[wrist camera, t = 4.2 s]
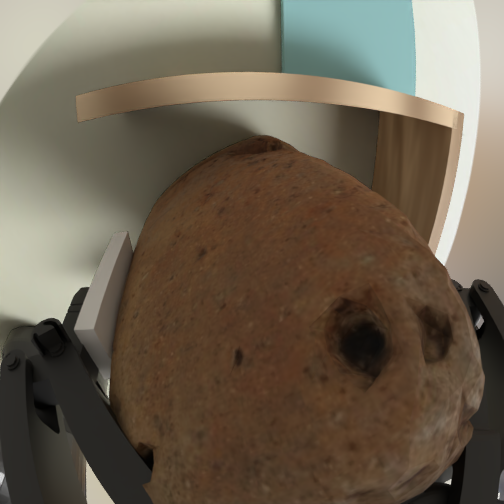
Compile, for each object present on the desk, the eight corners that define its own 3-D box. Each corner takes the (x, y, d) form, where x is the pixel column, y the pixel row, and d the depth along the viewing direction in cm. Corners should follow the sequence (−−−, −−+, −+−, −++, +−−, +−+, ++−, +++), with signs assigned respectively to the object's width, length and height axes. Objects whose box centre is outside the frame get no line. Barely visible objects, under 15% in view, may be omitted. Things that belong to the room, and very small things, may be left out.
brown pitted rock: (203, 267, 23) (248, 537, 6) (140, 204, 19) (70, 532, 2) (311, 190, 21) (509, 411, 5) (259, 111, 17) (615, 293, 1)
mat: (281, 74, 16) (284, 73, 16) (278, -53, 10) (280, -56, 9) (410, 95, 18) (415, 96, 18) (405, -14, 12) (409, -16, 11)
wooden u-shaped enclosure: (154, 292, 23) (147, 365, 17) (121, 96, 15) (75, 96, 8) (366, 265, 27) (410, 316, 20) (391, 99, 18) (463, 113, 11)
